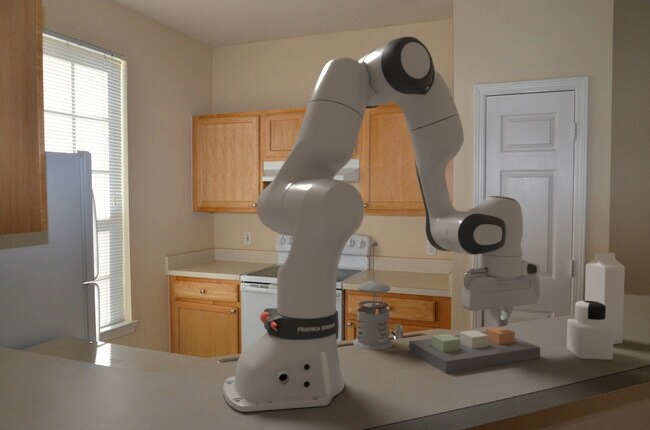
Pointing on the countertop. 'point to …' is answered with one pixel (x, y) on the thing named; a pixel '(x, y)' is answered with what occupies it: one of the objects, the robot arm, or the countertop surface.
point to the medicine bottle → (590, 332)
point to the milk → (607, 289)
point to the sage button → (445, 343)
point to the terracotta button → (500, 335)
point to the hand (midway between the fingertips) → (500, 325)
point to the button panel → (474, 354)
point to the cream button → (473, 339)
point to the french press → (373, 317)
